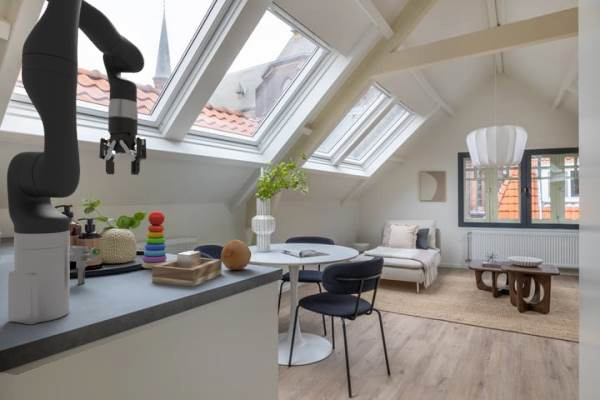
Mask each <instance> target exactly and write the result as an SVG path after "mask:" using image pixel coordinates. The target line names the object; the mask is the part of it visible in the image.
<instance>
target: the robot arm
mask: <svg viewBox="0 0 600 400" xmlns="http://www.w3.org/2000/svg"><path fill="white" fill-rule="evenodd" d="M45 1H47V2H48V3H47V5H46V7H45V10H44V12H43V14H41V17H40V18H39V20H37V22H36V24H35V25H34V26H33V28H32V30H30V32H29V34H28V35H27V36H26V37H27V38H26V39H25V41H24V42H23V45H22V51H21V52H22V53H21V81H22V85H23V88H24V90H25V93H26V95H27V96H28V98H29V100H30V102H31V103H32V105H33V107H34V108H35V110H36V112H37V115H38V116H39V118H40V120H41V122H42V123H41V124H42V127H43V139H44V140H43V141H44V143H43V147H44V148H43V151H38V150H37V151H35V150H34V151H22V152H19V153H17V154H15V156H13V157H12V158H11V160H10V161H9V163H8V167H7V172H6V173H7V174H6V189H7V203H8V213H9V218H10V220H11V222H12V224H13V232H14V233H13V270H12V271H9V272H8V274H7V275H8V280H7V281H8V284H7V285H8V287H7V288H8V289H7V290H8V291H7V294H8V297H7V298H8V300H7V303H8V304H7V306H8V307H7V314H8V315H7V316H8V317H7V321H8V322H14V323H19V324H25V325H35V324H37V323H42V322H49V321H53V320H57V319H60V318H62V317H64V316H66V315H68V314H69V313H70V274H71V273H70V270H71V269H70V267H71V264H70V263H71V261H70V246H71V245H70V244H71V220H70V217H69V216H67V215H66V214H63V213H62V212H59V211H58V210H57V209H55V208H54V206H53V205H52V201H51V198H55V199H56V198H57V199H61V198H68V197H70V196H72V195H73V194H74V193H75V192H76V190H77V189H78V186H79V184H80V179H81V163H80V151H79V138H78V128H77V127H78V126H77V125H78V121H77V117H78V116H77V115H78V113H77V110H78V109H77V100H78V99H77V98H78V96H77V93H78V81H79V79H78V78H79V77H78V75H79V74H78V69H79V65H78V64H79V63H78V62H79V61H78V59H79V58H78V55H79V54H78V51H79V49H78V46H79V45H78V44H79V31H80V30H81V32H82V33H83V34H84V35H85V36H86V37H87V38H88V40H89V41H90V42H91V43H92V45H93V46H95V47H96V49H98V51H99V52H101V53H103V54H102V61H103V65H104V68H105V72H106V76H107V81H108V85H109V102H108V108H107V109H108V111H107V114H108V119H107V122H108V123H107V124H108V125H107V126H108V127H107V128H108V129H107V131H108V133H109V138H104V137H101V138H100V140H99V156H98V157H99V159H101V160H104V161H105V173H106V174H107V175H115V159H116V158H117V157H119V156H120V154H121V155H122V154H126V155H128V156H129V159H131V162H130V174H131V175H135V176H138V175H139V173H140V169H141V166H140V165H141V161H143V160H146V159H147V140H146V138H145V137H141V136H140V137H136V136H137V135H138V120H139V119H138V118H139V117H138V115H139V114H138V111H139V110H138V87H137V84H136V83H135V82H134V81H132V80H128V79H125V78H122V74H123V73H125V74H137V73H141V72H142V71H143V70H144V68H145V58H144V55H143V53H142V51H141V50H140V49H139V48H138V46H137V45H136V44H134V43H133V42H132V41H130V40H129V39H128V38H127V37H125V36H124V35H123V34H121V33H120V31H119V30H118V29H117V27H116V26H115V25H114V23H113V22H112V21H111V20H110V18H109V17H108V16H107V15H106V14H105V13H103V12H102V11H101V10H100V9H98V8H97V7H95V6H94V5H92V4H91V3H89V2H87V1H86V0H45Z"/></svg>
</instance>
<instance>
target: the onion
mask: <svg viewBox="0 0 600 400" xmlns="http://www.w3.org/2000/svg"><path fill="white" fill-rule="evenodd" d="M251 258H252V252H251V249H250V247H249V246H248V245H247V244H246V243H245V242H243V241H242V240H239V239H232V240H230V241H229V242H227V243H226V244H225V245H224V247H223V248H222V249H221V254H220V260H222V264H223V265H224V266H225V268H226V269H228V270H237V271H240V270H243V269H244V268H246V267H247V266H248V265H249V263H250V262H251Z"/></svg>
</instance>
